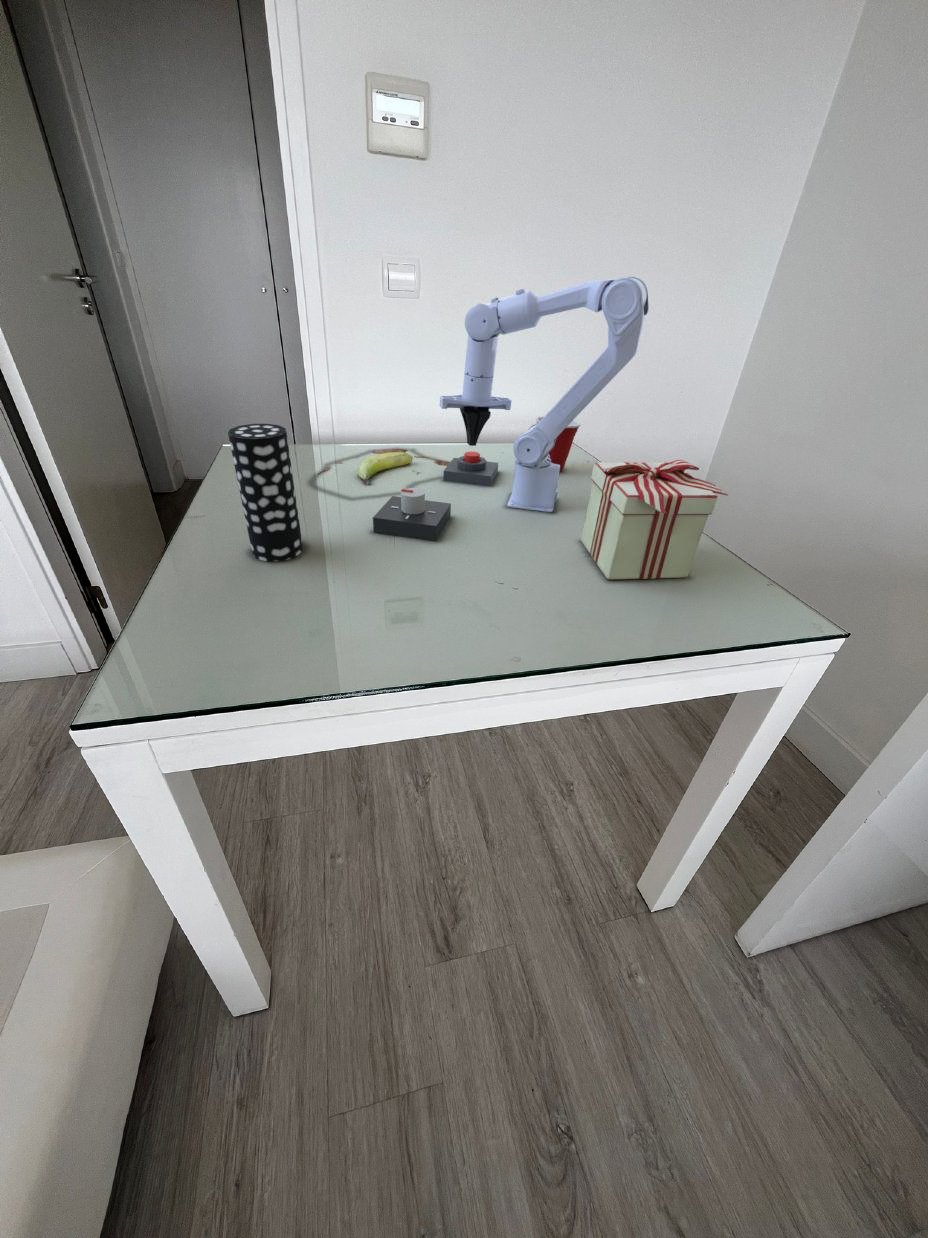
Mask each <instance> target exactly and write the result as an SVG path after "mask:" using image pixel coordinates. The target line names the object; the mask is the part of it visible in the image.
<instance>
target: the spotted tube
mask: <svg viewBox="0 0 928 1238" xmlns="http://www.w3.org/2000/svg"><path fill="white" fill-rule="evenodd" d="M287 433H288V432H287V429H286V427H284V426H283V425H279V424H274V423H248V424H242V425H237V426H233V427H232V428H230V429H229V430H227V436H228V440H229V447H230V450H231V451H230V452H231V455H232V460H233V465H234V470H235V475H236V480H237V485H238V489H239V490H238V491H239V495H240V499H241V504H242V509H243V515H244V519H245V524H246V529H247V534H248V539H249V544H250V549H251V554H252V556H253V557H254V558H255V559H257V560H260V561H263V562H283V561H288V560H291V559H293V558H296V557H298V556H299V555H301V553H302V552H303V551H304V545H303V538H302V532H301V523H300V517H299V510H298V503H297V496H296V495H297V494H296V489H295V482H294V481H295V480H294V474H293V468H292V461H291V453H290V445H289V440H288V434H287Z"/></svg>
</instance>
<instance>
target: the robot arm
mask: <svg viewBox="0 0 928 1238" xmlns="http://www.w3.org/2000/svg"><path fill="white" fill-rule="evenodd" d="M649 303H650V301H649V290H648V287H647V285H646V283H645V282H644V281H643V280H642V279H641V278H640V277H636V276H627V277H620V278H615V279H613V278H612V279H601V280H591V281H587V282H584V283H581V284H577V285H574V286H571V287H568V288H564V289H561V290H557V291H554V292H551V293H548V294H545V295H541V296H539V295H537V294H536V293H535V292H533V291H532V290H527V291H526V289H525V288H520V289H516V290H515V294H513V295H509V296H506V297H502V298H499V297H498V296H496V297H492V298H490V302H488V303H481V302H479V303H477V304H476V305H474V306H472V307H471V308H470V309H468V311H467V312H466V314H465V317H464V328H465V331H466V333H467V343H466V351H465V362H464V363H465V364H464V373H463V385H462V394H455V395H454V394H453V395H440V396H439V407H440V408H441V409H442V410H448V409H459V410H460V415H461V416H462V420H463V423H464V428H465V434H466V435H465V436H466V443H467V444H468V446H471V447H476V446H477V443H478V440H479V438H480V435H481V433H482V431H483V428H484V427H485V425H486V424H487V422H488V421H489V420H490V418H491V413H492V412H491V411H490V410H505V411H511V409H512V408H511V407H512V399H510V398H509V397H502V396H501V397H499V396H492V392H493V384H494V375H495V369H496V368H495V367H496V358H497V353H498V351H497V349H498V348H497V347H498V339H499V336H500V335H508V334H513V333H517V332H520V331H525V330H528V329H533V328H536V327H537V325H538V324H539V322H540V321H541V319H542V318H543V317H546V316H549V315H554V314H559V313H563V312H568V311H572V310H576V309H580V308H586V309H588V310H590V311H593V312H595V313H599V312H602V313H603V317H604V319H605V322H606V325H607V347H606V348H605V349H604V351H602V353H601V354H600V355H599V356H598V357H596V359H595V361H594V362H593V363H592V364H591V365H590V366H589V367H588V368H587V369H586V370H585V371H584V373H582V375H581V376H580V377H579V378H578V379H577V380H576V382H575V383H574V384H573V385H572V386H571V387H570V388H569V389H568V390H567V391H566V392H565V393H564V395H563V396H562V397H560V399H559V400H558V401H557V402H556V403H555V405H553V407H552V408H551V409H550V410H549V411H548V412H547V413H546V414H545V415H544V416H543V417H544V418H543V419H542V420H541V421H540V422H539V423H537V422H536V423H533V424H532V425H531V426H530V427H529V428H528V429H527V430H526V431H525V432H524V433H521V434H520V435H519V436H518V437H517V438H516V439H515V441H514V443H513V454H514V457H515V459H514V472H513V481H512V489H511V490H512V492H511V495H510V497H509V499H508V502H507V505H506V506H507V507H508V508H514V509H522V510H528V511H529V510H530V511H537V512H544V513H553V512H554V507H555V503H556V501H557V499H558V495H559V493H558V492H559V491H558V485H559V478H560V472H559V471H560V465H558V464H553V463H551V459H550V455H549V451H550V450H551V449H552V448H553V447H554V445H555V441H556V439H557V437H558V436H559V434H560V433H561V432H562V431H563V430H564V429H565V428H566V427H567V426H568V425H569V424H570V423H571V422H572V421H573V420H575V419H576V418H577V417H578V416H579V414H581V413H582V412H583V411H584V409H585V408H586V407H587V406H588V405H589V404H590V403H591V402H592V401H593V400H594V399H595V398H596V397H597V396H598V395H599V394H600V393H601V392H602V391H603V389H604V388H606V387H607V385H609V384H610V382H611V381H612V380H614V378H615V377H616V376H617V375H618V374H619V373H620V372H621V371H622V370H623V369H624V368H625V367H626V366H627V365H628V364H629V362H631V361H632V359H633V358H635V356H636V355H637V353H638V352H639V349H640V344H641V341H642V336H643V333H644V328H645V326H646V321H647V318H648V314H649V311H650V304H649Z"/></svg>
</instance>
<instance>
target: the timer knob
mask: <svg viewBox="0 0 928 1238" xmlns="http://www.w3.org/2000/svg"><path fill="white" fill-rule="evenodd" d="M400 497H401V510H402V512H404V513H406V514H420V513H423V512H424V511H425V500H426V492H425V490H424V489H421V488H417V487H407V488H401V491H400Z"/></svg>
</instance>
